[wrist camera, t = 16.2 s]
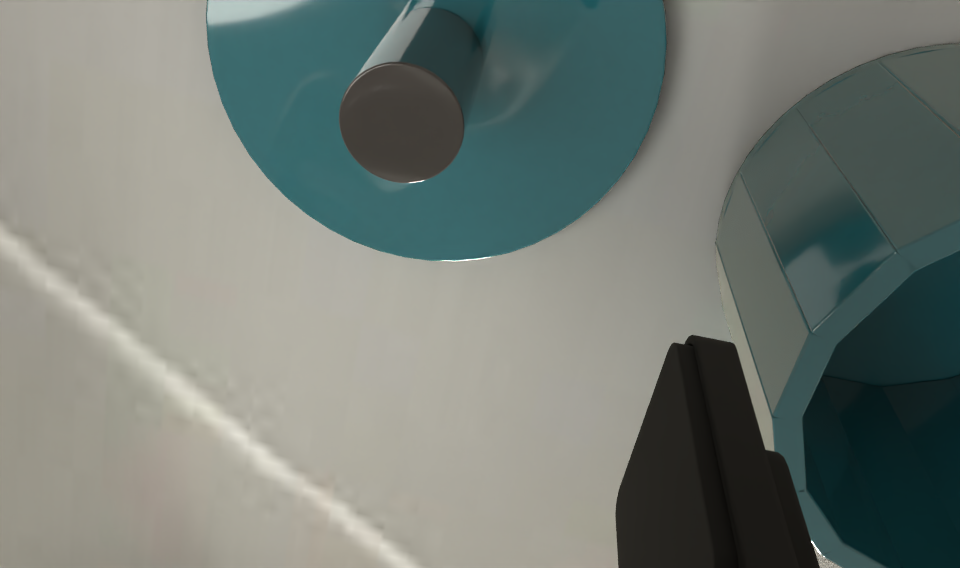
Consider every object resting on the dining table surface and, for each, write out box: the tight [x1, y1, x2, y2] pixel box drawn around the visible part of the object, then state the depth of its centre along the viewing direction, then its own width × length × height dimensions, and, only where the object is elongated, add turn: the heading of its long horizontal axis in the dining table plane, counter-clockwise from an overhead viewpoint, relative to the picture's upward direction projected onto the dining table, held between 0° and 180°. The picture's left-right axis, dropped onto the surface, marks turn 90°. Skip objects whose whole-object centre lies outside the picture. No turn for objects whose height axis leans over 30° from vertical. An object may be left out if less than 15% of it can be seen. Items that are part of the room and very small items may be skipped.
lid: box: [206, 0, 667, 261], centre depth 23 cm, size 13×13×7 cm
